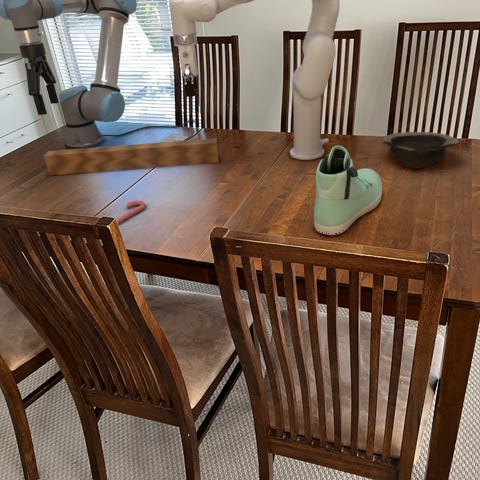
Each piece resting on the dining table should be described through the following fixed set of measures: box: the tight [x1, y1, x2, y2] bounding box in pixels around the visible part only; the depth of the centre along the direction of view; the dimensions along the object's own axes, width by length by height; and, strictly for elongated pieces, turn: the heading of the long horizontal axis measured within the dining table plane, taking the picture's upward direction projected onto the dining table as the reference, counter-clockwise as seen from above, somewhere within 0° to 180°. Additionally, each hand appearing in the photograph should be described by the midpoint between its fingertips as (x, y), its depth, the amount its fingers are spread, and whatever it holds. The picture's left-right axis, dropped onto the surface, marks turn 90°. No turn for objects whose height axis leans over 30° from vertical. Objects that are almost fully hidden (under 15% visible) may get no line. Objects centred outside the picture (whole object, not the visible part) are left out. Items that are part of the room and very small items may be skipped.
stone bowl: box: [381, 131, 461, 169], centre depth 164 cm, size 25×25×9 cm
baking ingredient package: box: [157, 134, 189, 143], centre depth 198 cm, size 9×1×15 cm
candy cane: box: [115, 200, 146, 225], centre depth 145 cm, size 6×15×2 cm, turn 145°
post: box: [43, 137, 220, 176], centre depth 176 cm, size 62×5×8 cm, turn 92°
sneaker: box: [313, 145, 383, 236], centre depth 133 cm, size 14×35×20 cm, turn 152°
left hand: (49, 108), depth 166 cm, fingers open, 13 cm apart
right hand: (191, 92), depth 165 cm, fingers open, 9 cm apart
